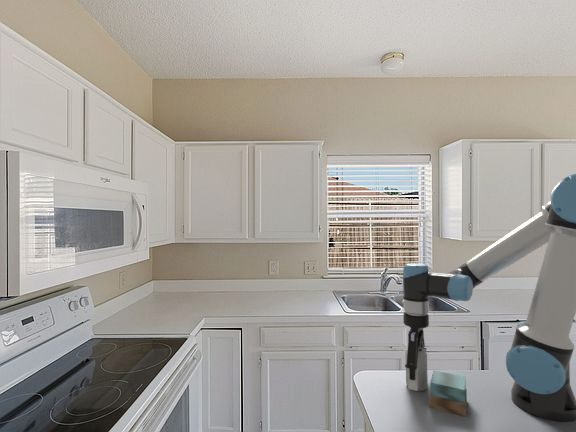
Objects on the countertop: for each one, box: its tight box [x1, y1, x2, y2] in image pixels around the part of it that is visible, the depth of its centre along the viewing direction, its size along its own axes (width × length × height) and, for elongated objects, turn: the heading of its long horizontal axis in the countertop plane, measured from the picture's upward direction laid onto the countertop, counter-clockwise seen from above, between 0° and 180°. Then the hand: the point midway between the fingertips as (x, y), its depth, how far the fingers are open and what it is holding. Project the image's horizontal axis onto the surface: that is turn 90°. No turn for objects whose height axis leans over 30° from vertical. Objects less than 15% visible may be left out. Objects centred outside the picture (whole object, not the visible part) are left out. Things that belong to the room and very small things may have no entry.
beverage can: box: [405, 346, 429, 392], centre depth 105 cm, size 6×6×12 cm
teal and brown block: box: [429, 369, 468, 418], centre depth 95 cm, size 9×9×7 cm
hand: (416, 379), depth 105 cm, fingers open, 13 cm apart
